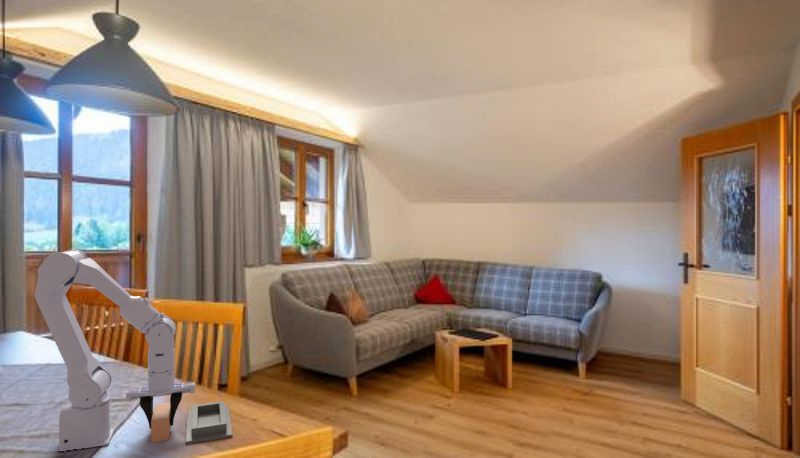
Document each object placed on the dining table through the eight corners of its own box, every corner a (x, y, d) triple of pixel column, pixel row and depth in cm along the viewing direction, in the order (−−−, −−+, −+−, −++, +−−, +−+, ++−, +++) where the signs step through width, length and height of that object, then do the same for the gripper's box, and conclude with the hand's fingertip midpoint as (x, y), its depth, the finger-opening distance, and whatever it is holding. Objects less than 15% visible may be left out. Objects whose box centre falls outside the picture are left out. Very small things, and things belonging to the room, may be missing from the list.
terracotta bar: (151, 442, 108) (151, 420, 108) (155, 424, 117) (155, 404, 117) (168, 439, 109) (168, 418, 109) (171, 421, 118) (171, 402, 118)
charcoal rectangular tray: (185, 444, 107) (185, 433, 107) (187, 413, 123) (187, 403, 123) (232, 436, 111) (232, 425, 111) (228, 407, 127) (228, 398, 127)
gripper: (124, 378, 106) (124, 438, 106) (194, 371, 112) (194, 427, 112) (128, 368, 113) (128, 425, 113) (194, 362, 118) (194, 415, 119)
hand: (161, 425), depth 113 cm, fingers closed on terracotta bar, 4 cm apart
